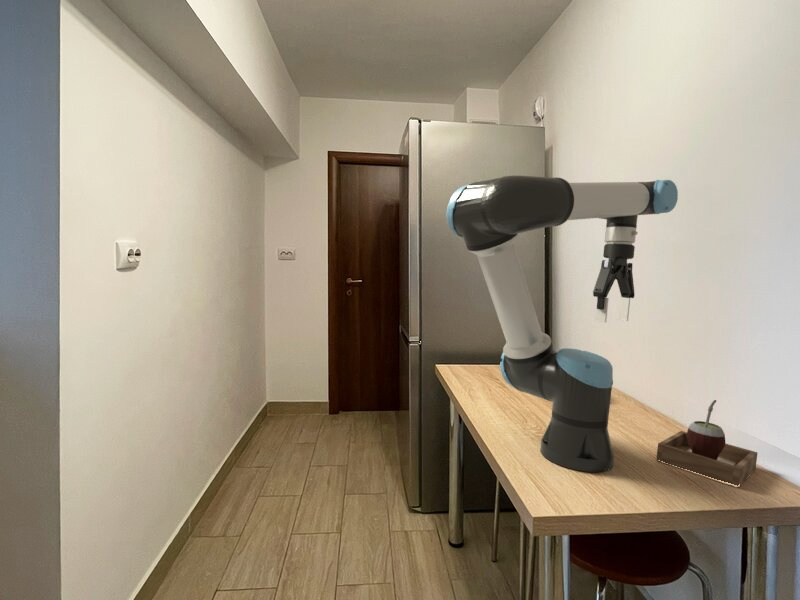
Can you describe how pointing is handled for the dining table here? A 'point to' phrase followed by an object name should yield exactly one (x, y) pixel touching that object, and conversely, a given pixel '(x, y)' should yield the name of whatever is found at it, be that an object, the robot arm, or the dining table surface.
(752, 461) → the tray
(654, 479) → the dining table surface
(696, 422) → the mate gourd
